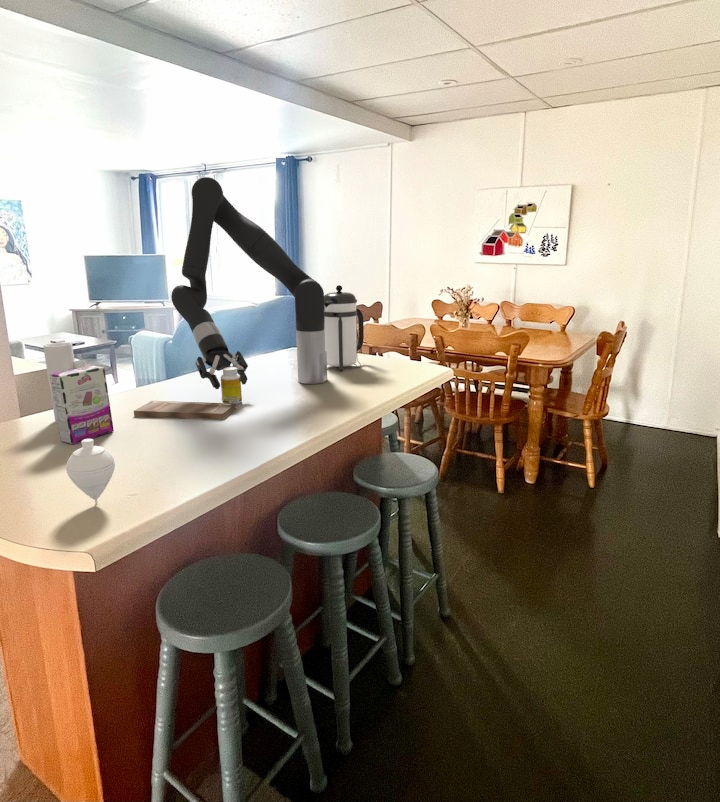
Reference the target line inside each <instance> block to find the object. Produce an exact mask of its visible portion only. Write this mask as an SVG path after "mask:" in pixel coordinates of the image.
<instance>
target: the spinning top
mask: <svg viewBox="0 0 720 802" xmlns="http://www.w3.org/2000/svg"><path fill="white" fill-rule="evenodd" d="M94 440H95V439H94V438H92V439H84V440H82V441H81V442H80V443H81V446H82V447H80V448H78V449H76V450H74V451H73V452H72V453H71V455H70V457H69V458H68V460H67V462H66V468H65V469H66V470H65V471H66V474H67V477H68V478H69V479H70V480H71V481H72V483H73V484H74V486H75V487H77V488H78V489H79V490H80V491H82V493H84V494H85V495H86V496H87V497H89V498H90V499H92V500H94V504H95V505H98V499H99V498H100V496H102V494H103V493H104V491H105V490H106V488H107V486H108V485H109V483H110V481H111V479H112V478H113V477H112V476H113V474H114V472H115V468H116V461H115V459H114V456H113V454H111V452H110V451H109V450H107V449H106V448H105V447H103V446H100V445H99V446H98V445H94Z"/></svg>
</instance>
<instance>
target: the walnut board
mask: <svg viewBox="0 0 720 802" xmlns="http://www.w3.org/2000/svg"><path fill="white" fill-rule="evenodd" d="M237 408H238V407H237V404H236V403H223V402H201V401H200V402H199V401H197V402H196V401H173V400H172V401H170V400H169V401H168V400H166V401H165V400H150V401H149V402H148V403H145V404H143V405H141V406H140V407H138V408H136V409H134V410H133V417H136V418H139V417H140V418H141V417H142V418H143V417H144V418H171V419H193V420H194V419H195V420H196V419H198V420H224V419H226V418H227V417H229V416H230V415H231V414H232V413H234V412H235V411H236V410H237Z"/></svg>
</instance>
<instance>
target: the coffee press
mask: <svg viewBox="0 0 720 802" xmlns="http://www.w3.org/2000/svg"><path fill="white" fill-rule="evenodd" d="M335 289H336V292H335V291H333V292H328V293H325V294H324V312H325V323H324V333H325V351H326V352H327V366H331V367H338V368H339V370H340V371H339V370H338V371H339V372H344V367H349V366H353V365H354V366H356V367H357V366H358V365H357V364H356V363H357V362H358V364H359V366H360V367H361V366H362V365H361V364H362V363H360V361H359V360H358V359H359V358H358V351H359V350H361V349H362V346H363V344H364V339H365V338H364V336H365V335H364V330H365V327H364V326H365V325H364V315H363V313H362V310H360V309H359V308H357V303H358V299H357V298H356V296H355V294H353V293H351V292H347V291H345V292H344V291H343V292H342V290H343V287H342V285H340V284H338V285H337V286H336V288H335ZM357 331H358V336H357Z"/></svg>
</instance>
